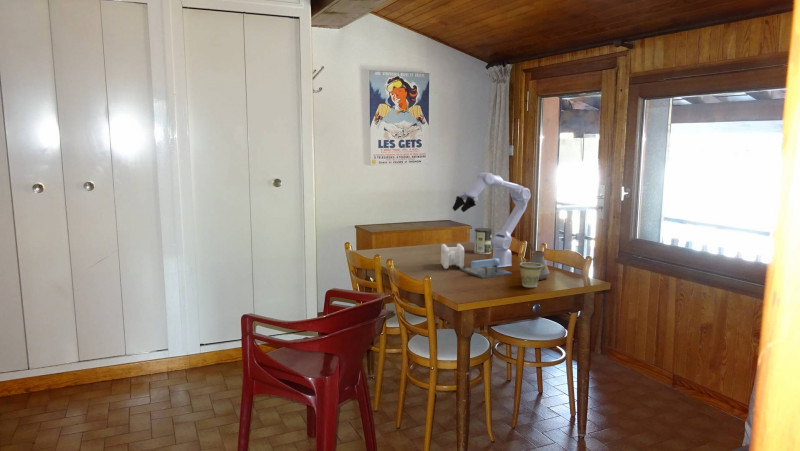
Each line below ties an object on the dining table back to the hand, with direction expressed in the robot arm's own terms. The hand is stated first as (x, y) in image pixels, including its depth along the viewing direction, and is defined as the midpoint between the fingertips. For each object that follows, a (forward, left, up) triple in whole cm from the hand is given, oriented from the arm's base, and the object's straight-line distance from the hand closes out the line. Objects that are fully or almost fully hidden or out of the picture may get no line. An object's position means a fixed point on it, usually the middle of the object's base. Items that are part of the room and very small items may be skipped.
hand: (457, 210), depth 280 cm
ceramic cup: (-16, +39, -31) cm, 53 cm away
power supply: (-12, +11, -31) cm, 35 cm away
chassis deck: (-12, +9, -31) cm, 35 cm away
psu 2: (-6, +11, -31) cm, 34 cm away
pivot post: (-16, +11, -31) cm, 37 cm away
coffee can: (-41, -34, -31) cm, 62 cm away
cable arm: (-10, +11, -27) cm, 31 cm away
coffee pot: (-30, +24, -32) cm, 50 cm away
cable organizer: (-3, -9, -32) cm, 33 cm away
